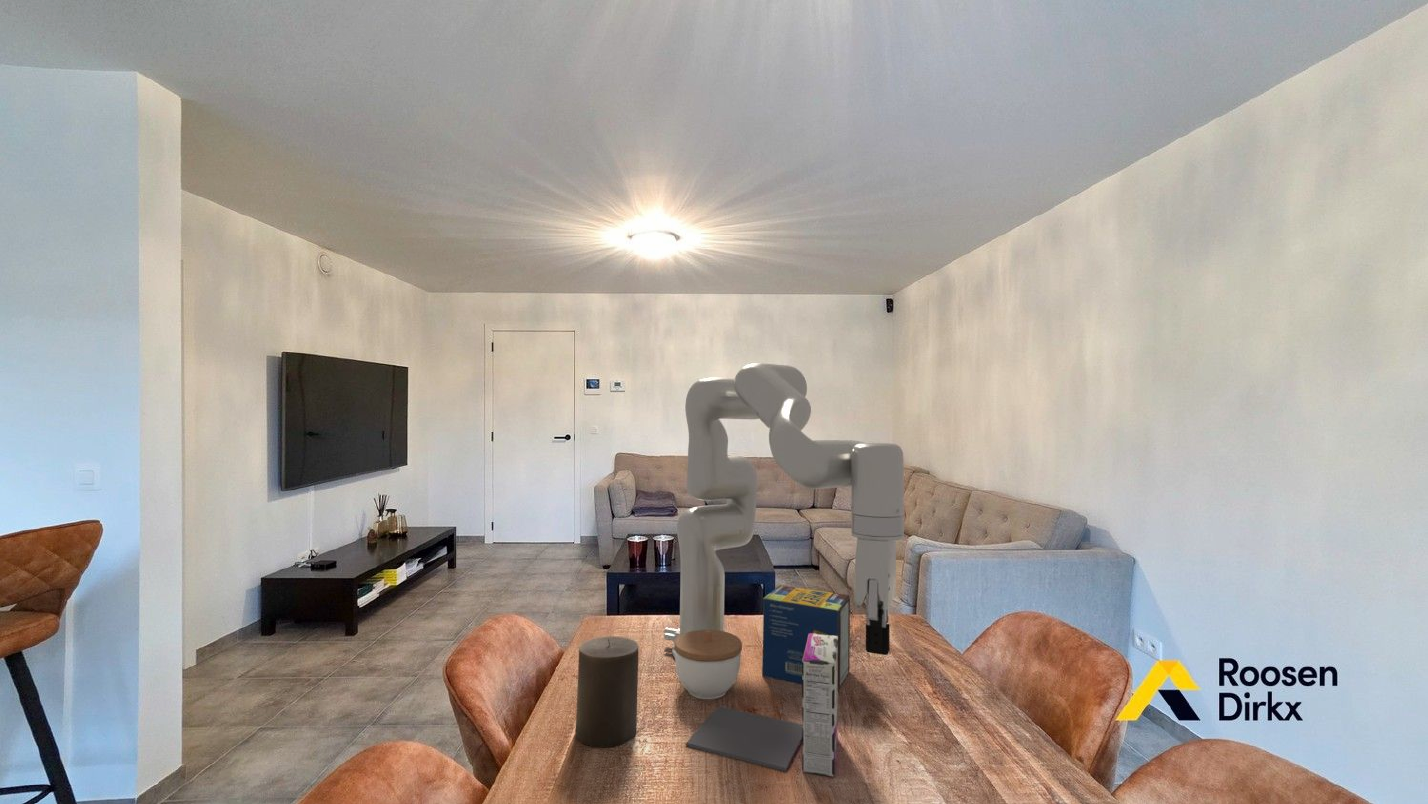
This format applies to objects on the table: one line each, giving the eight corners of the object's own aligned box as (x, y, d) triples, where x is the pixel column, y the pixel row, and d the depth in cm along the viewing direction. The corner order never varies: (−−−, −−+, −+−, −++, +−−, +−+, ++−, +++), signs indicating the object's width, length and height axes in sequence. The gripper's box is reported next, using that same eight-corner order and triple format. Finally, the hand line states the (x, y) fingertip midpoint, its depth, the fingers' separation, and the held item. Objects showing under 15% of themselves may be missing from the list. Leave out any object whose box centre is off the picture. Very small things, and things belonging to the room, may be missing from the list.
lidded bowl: (747, 704, 106) (748, 642, 106) (677, 709, 104) (678, 645, 104) (733, 674, 118) (734, 618, 118) (670, 677, 116) (671, 620, 116)
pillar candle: (610, 754, 89) (614, 654, 90) (562, 736, 94) (566, 640, 95) (648, 726, 98) (651, 634, 98) (602, 711, 103) (605, 623, 103)
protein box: (777, 657, 127) (779, 584, 127) (850, 671, 120) (851, 594, 121) (760, 676, 117) (761, 597, 118) (838, 693, 111) (839, 609, 111)
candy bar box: (806, 733, 96) (808, 631, 97) (838, 737, 95) (839, 634, 96) (799, 773, 86) (801, 658, 86) (834, 779, 84) (836, 662, 85)
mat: (686, 745, 92) (686, 742, 92) (718, 708, 104) (718, 705, 104) (786, 771, 86) (786, 768, 86) (808, 728, 98) (808, 725, 98)
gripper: (859, 517, 96) (860, 632, 96) (842, 532, 83) (842, 666, 82) (908, 520, 93) (908, 638, 93) (898, 536, 80) (899, 675, 79)
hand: (877, 651), depth 87 cm, fingers closed
